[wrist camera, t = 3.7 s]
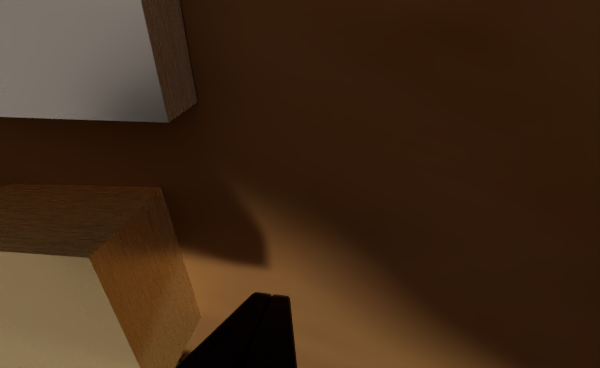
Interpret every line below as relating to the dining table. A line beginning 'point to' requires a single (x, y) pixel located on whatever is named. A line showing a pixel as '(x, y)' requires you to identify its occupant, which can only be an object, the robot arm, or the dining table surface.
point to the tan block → (91, 278)
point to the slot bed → (94, 60)
